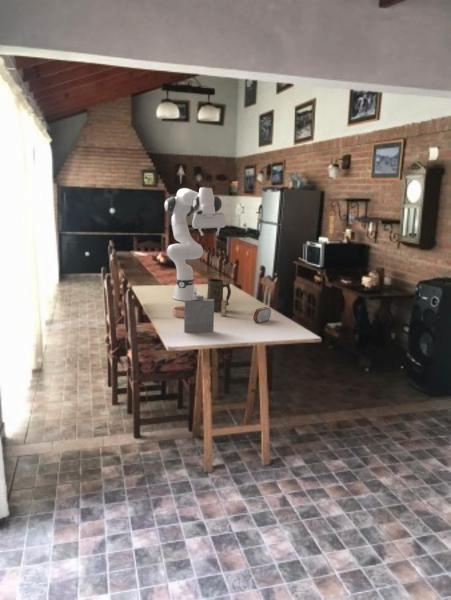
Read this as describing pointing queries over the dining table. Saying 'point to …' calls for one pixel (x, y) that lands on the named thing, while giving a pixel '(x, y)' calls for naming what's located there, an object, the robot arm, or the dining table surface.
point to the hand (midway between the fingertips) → (209, 235)
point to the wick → (223, 308)
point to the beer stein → (217, 293)
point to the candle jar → (178, 311)
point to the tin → (262, 314)
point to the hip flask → (199, 315)
